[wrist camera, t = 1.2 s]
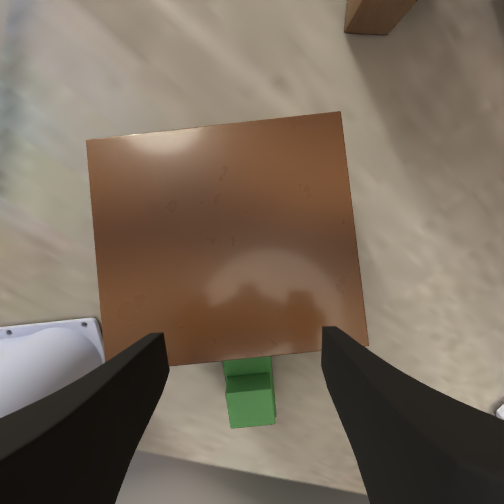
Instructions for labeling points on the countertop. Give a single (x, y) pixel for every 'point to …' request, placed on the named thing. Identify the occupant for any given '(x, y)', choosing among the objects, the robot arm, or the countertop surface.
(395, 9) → the wooden toy
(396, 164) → the countertop surface
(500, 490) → the robot arm
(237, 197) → the lid
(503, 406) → the soap bottle
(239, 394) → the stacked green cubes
